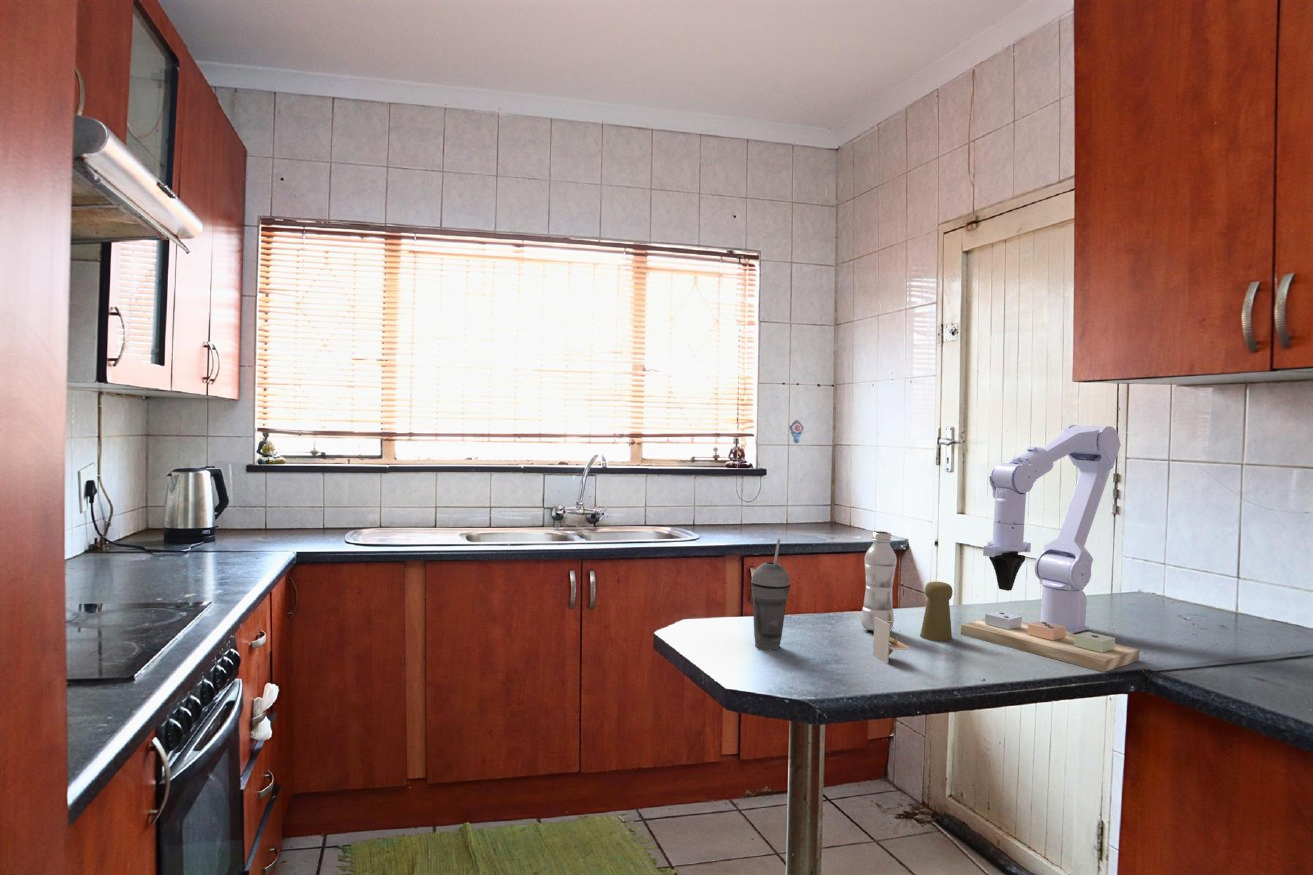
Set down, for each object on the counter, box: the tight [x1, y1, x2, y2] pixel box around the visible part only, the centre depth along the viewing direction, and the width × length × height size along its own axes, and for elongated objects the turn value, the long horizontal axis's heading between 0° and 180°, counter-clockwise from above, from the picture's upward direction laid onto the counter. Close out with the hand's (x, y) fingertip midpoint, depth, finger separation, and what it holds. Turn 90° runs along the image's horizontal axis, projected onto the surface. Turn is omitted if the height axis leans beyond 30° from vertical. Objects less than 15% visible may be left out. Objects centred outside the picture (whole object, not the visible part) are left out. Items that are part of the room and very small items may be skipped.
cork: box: [919, 581, 954, 643], centre depth 164 cm, size 6×6×11 cm
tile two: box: [984, 610, 1023, 630], centre depth 168 cm, size 5×5×2 cm
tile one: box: [1074, 631, 1116, 653], centre depth 154 cm, size 5×5×2 cm
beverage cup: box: [750, 538, 791, 651], centre depth 152 cm, size 7×7×20 cm
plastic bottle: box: [860, 530, 898, 632], centre depth 167 cm, size 6×7×20 cm
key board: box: [960, 618, 1141, 673], centre depth 161 cm, size 14×28×2 cm, turn 38°
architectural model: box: [872, 617, 911, 665], centre depth 147 cm, size 3×7×7 cm, turn 12°
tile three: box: [1028, 620, 1067, 640], centre depth 161 cm, size 5×5×2 cm
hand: (1005, 589), depth 168 cm, fingers closed
